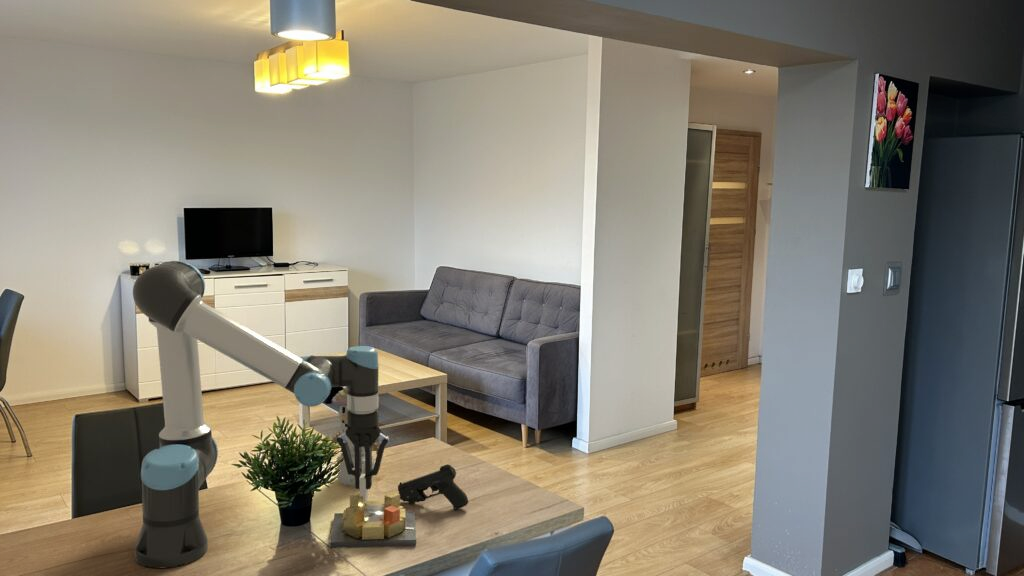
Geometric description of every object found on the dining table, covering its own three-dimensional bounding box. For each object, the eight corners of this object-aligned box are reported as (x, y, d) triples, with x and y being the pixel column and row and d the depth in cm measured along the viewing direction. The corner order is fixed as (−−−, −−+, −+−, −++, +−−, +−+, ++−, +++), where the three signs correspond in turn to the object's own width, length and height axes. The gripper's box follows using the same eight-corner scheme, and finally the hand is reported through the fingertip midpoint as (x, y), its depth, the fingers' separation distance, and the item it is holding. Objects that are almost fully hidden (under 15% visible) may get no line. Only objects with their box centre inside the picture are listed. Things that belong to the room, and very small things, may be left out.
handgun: (468, 506, 206) (451, 464, 205) (411, 525, 210) (394, 484, 209) (470, 503, 208) (453, 461, 207) (413, 521, 212) (396, 481, 211)
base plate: (329, 548, 183) (329, 527, 182) (334, 518, 199) (334, 499, 198) (416, 545, 186) (416, 524, 185) (414, 516, 202) (414, 497, 201)
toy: (318, 484, 220) (319, 380, 216) (342, 469, 232) (343, 370, 227) (368, 494, 215) (369, 387, 211) (390, 478, 226) (392, 377, 222)
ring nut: (372, 545, 182) (372, 520, 181) (329, 526, 191) (330, 502, 190) (417, 524, 194) (418, 501, 193) (375, 507, 202) (375, 485, 202)
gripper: (392, 405, 196) (392, 495, 199) (340, 404, 196) (341, 494, 200) (386, 414, 189) (387, 507, 192) (332, 413, 189) (334, 506, 192)
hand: (363, 500), depth 196 cm, fingers closed
